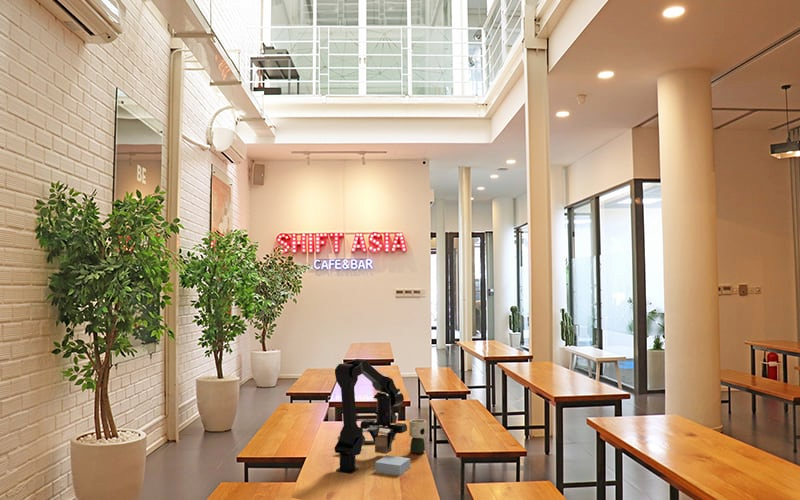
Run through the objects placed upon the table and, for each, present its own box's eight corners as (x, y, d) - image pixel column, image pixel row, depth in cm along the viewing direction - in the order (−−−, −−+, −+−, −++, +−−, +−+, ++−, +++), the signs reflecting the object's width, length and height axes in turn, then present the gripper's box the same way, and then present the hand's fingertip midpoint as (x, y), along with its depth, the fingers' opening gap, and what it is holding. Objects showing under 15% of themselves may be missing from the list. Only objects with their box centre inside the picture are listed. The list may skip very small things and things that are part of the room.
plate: (330, 442, 273) (330, 437, 273) (352, 429, 297) (352, 424, 297) (385, 447, 265) (385, 442, 266) (402, 433, 290) (403, 429, 290)
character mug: (420, 457, 251) (420, 424, 251) (404, 454, 254) (404, 422, 254) (430, 450, 260) (430, 419, 261) (415, 448, 263) (415, 417, 264)
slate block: (399, 476, 226) (400, 465, 227) (375, 473, 230) (375, 462, 231) (410, 469, 236) (410, 458, 236) (386, 465, 240) (386, 455, 240)
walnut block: (386, 453, 247) (386, 438, 247) (374, 452, 249) (375, 437, 250) (391, 450, 252) (391, 435, 252) (380, 449, 254) (380, 434, 254)
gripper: (412, 407, 255) (412, 445, 254) (372, 403, 263) (371, 440, 262) (401, 412, 245) (401, 452, 244) (359, 407, 252) (359, 446, 252)
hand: (383, 447), depth 251 cm, fingers closed on walnut block, 5 cm apart
